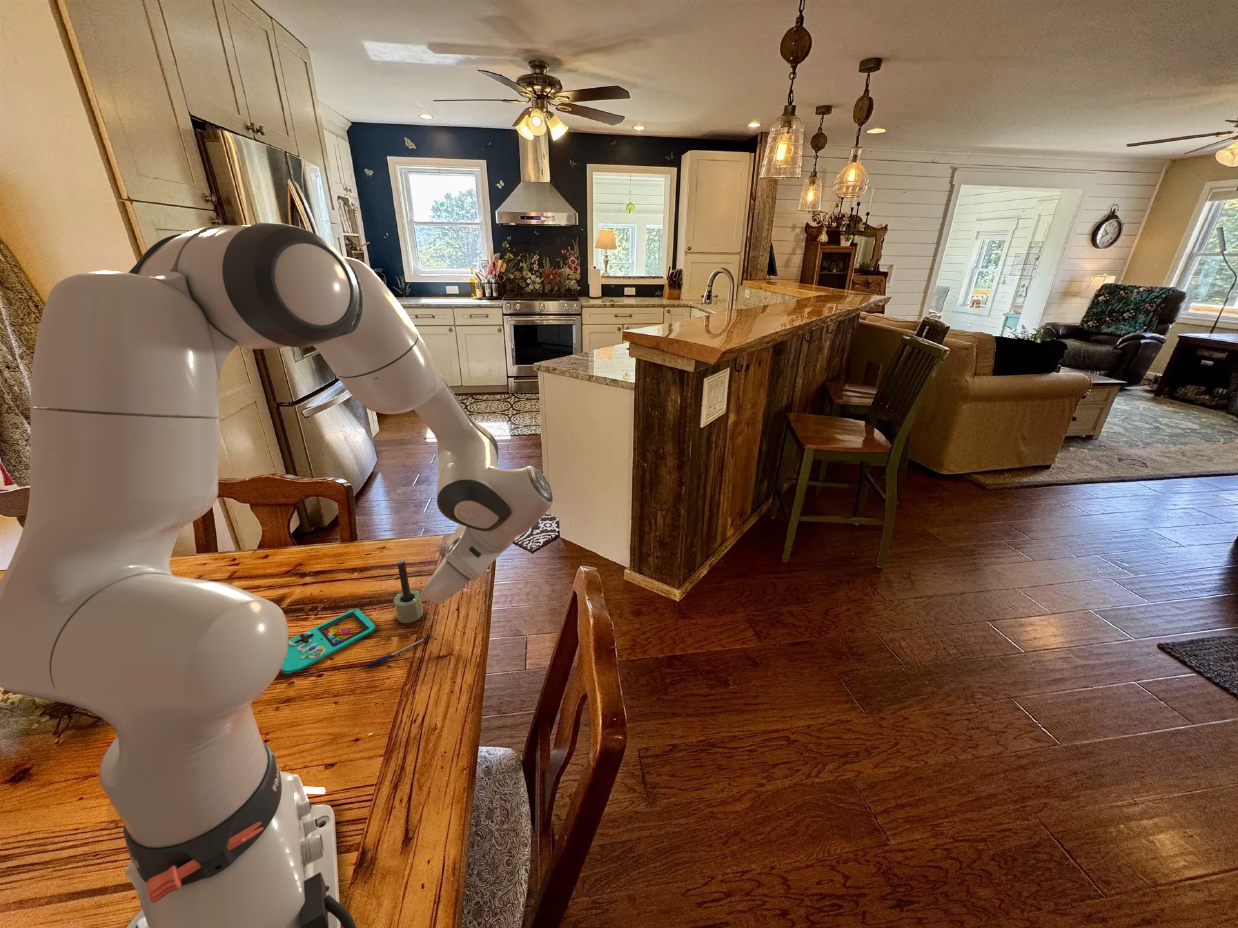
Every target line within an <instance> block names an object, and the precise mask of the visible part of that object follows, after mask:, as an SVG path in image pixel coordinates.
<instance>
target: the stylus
mask: <svg viewBox="0 0 1238 928" xmlns="http://www.w3.org/2000/svg"><path fill="white" fill-rule="evenodd" d="M396 563H397V570H398V574H399V580H400V581H399V582H400V586H401V591H402V592H403V597H404V602H409V601H412V599H411V593H410V590H411V588H410V583H409V577H408V571H407V564H406V560H404V559H399V560H397V562H396Z"/></svg>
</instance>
